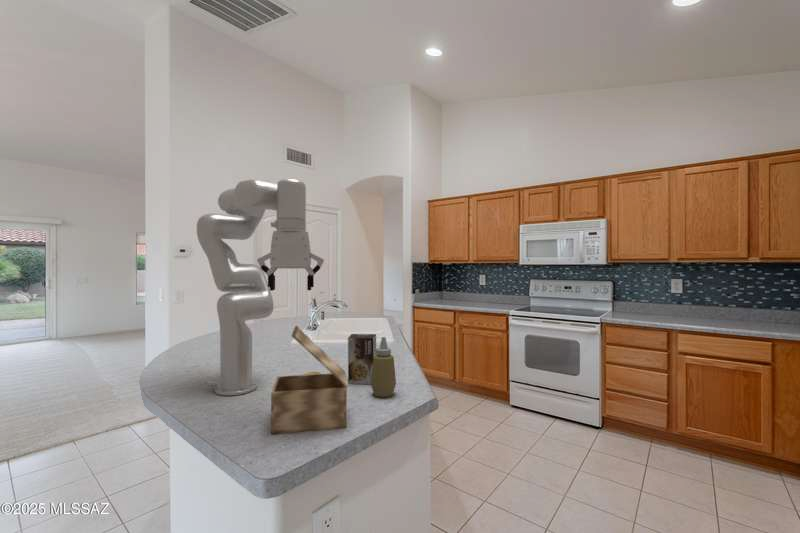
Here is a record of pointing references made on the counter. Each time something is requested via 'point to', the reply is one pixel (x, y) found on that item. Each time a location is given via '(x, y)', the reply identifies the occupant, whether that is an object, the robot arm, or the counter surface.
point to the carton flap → (319, 355)
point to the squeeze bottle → (383, 371)
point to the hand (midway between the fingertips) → (291, 290)
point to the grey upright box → (361, 358)
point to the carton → (308, 403)
